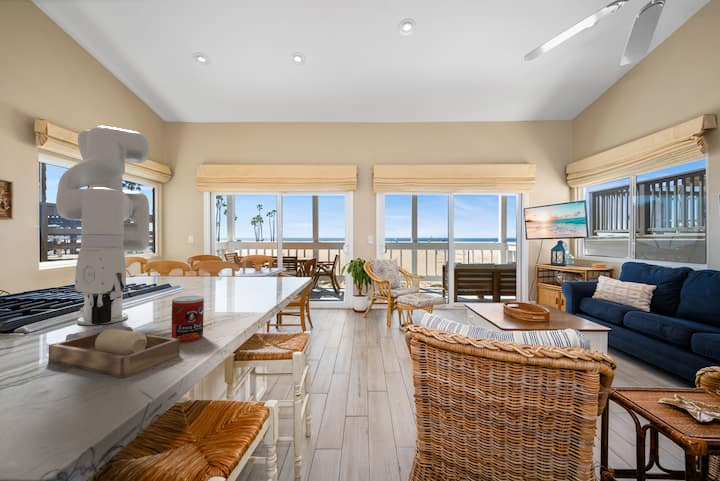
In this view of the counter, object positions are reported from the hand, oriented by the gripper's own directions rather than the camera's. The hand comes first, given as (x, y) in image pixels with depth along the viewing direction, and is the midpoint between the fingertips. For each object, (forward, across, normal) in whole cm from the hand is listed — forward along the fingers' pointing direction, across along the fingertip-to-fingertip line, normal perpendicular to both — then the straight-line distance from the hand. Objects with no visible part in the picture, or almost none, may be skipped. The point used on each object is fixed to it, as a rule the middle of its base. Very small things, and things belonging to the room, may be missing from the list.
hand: (101, 322), depth 73 cm
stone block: (+8, -11, +7) cm, 15 cm away
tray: (+8, +5, 0) cm, 9 cm away
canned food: (+8, +8, +17) cm, 20 cm away
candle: (+4, +1, 0) cm, 4 cm away
